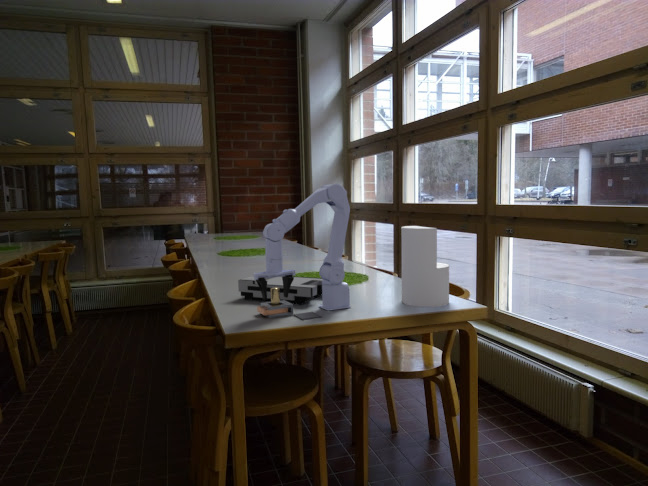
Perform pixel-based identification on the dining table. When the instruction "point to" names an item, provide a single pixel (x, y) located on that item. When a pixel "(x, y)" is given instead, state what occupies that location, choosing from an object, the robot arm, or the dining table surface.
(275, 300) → the brass peg
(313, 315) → the rubber mat
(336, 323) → the dining table surface
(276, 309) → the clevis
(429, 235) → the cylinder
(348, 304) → the robot arm
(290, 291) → the game console
